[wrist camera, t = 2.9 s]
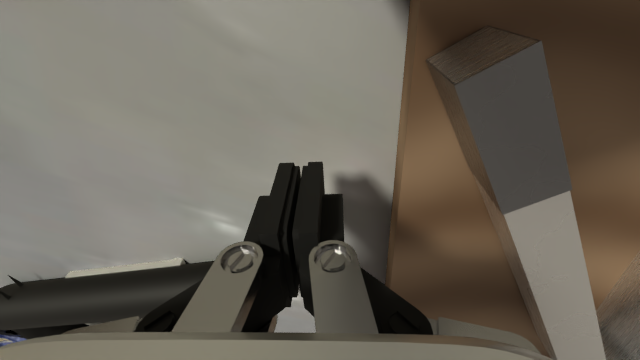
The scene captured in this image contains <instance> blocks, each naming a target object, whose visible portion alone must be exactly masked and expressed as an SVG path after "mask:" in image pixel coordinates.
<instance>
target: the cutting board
mask: <svg viewBox="0 0 640 360" xmlns="http://www.w3.org/2000/svg"><path fill="white" fill-rule="evenodd" d="M487 25H489V26H492V27H496V28H499V29H503V30H506V31H510V32H513V33H517V34H520V35H524V36H527V37H531V38H534V39H538V40H541V41H542V45H543V50H544V55H545V59H546V64H547V69H548V74H549V79H550V84H551V88H552V93H553V98H554V103H555V108H556V112H557V117H558V122H559V127H560V132H561V136H562V141H563V146H564V151H565V156H566V160H567V165H568V170H569V175H570V180H571V184H572V189H573V190H570V193H571V198H572V202H573V207H574V212H575V216H576V221H577V226H578V230H579V235H580V240H581V244H582V249H583V254H584V258H585V263H586V268H587V272H588V277H589V282H590V286H591V291H592V296H593V300H594V305H595V310H597V309H598V307H599V306H600V305H601V303H602V302H603V301H604V299H605V298H606V296H607V295H608V294H609V292H610V291H611V289H612V288H613V287H614V285H615V284H616V283H617V281H618V280H619V278H620V277H621V276H622V274H623V273H624V271H625V270H626V269H627V267H628V266H629V265H630V263H631V262H632V260H633V259H634V258H635V256H636V255H637V253H638V252H639V251H640V0H410V10H409V21H408V32H407V44H406V55H405V66H404V78H403V89H402V100H401V111H400V123H399V134H398V145H397V157H396V168H395V179H394V191H393V202H392V213H391V225H390V236H389V247H388V258H387V270H386V281H385V286H387V287H388V288H390V289H391V290H392V291H394V292H395V293H396V294H398V295H399V296H400V297H402V298H403V299H405V300H406V301H407V302H409V303H410V304H411V305H413V306H414V307H416V308H417V309H418V310H420V311H421V312H422V313H423V314H424V315H425V316H426V317H427V318H430V319H434V320H438V317H443V318H447V319H452V320H457V321H461V322H466V323H471V324H476V325H480V326H485V327H490V328H494V329H499V330H504V331H508V332H512V333H515V334H518V335H520V336H522V337H524V338H525V339H527V340H528V341H530V342H531V343H532V344H533V345H534V346H535V347H536V348H537V349H538V350H539V351H540V353H541V355H544V356H546V357H549V358H550V356H549V354H548V353H547V351H546V349H545V347H544V346H543V344H542V342H541V340H540V339H539V337H538V335H537V333H536V330H535V328H534V325H533V323H532V320H531V318H530V315H529V313H528V310H527V308H526V305H525V303H524V300H523V298H522V295H521V293H520V290H519V288H518V285H517V283H516V280H515V278H514V275H513V273H512V270H511V268H510V265H509V263H508V260H507V258H506V255H505V253H504V250H503V248H502V245H501V243H500V240H499V238H498V235H497V233H496V230H495V228H494V225H493V223H492V220H491V218H490V215H489V213H488V210H487V208H486V205H485V203H484V200H483V198H482V195H481V193H480V191H479V188H478V186H477V183H476V181H475V178H474V176H473V173H472V172H471V170H470V169H469V167H468V165H467V162H466V160H465V157H464V155H463V152H462V150H461V147H460V145H459V142H458V140H457V137H456V135H455V132H454V130H453V127H452V125H451V123H450V120H449V118H448V115H447V113H446V110H445V108H444V105H443V103H442V100H441V98H440V95H439V93H438V90H437V88H436V85H435V83H434V80H433V78H432V76H431V73H430V71H429V68H428V66H427V63H426V61H425V60H426V59H428V58H430V57H432V56H433V55H435V54H437V53H439V52H441V51H442V50H444V49H446V48H448V47H449V46H451V45H453V44H455V43H457V42H458V41H460V40H462V39H464V38H466V37H467V36H469V35H471V34H473V33H474V32H476V31H478V30H480V29H482V28H483V27H485V26H487Z"/></svg>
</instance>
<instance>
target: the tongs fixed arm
mask: <svg viewBox="0 0 640 360" xmlns="http://www.w3.org/2000/svg"><path fill="white" fill-rule="evenodd" d="M596 315H597V319H598V324H599V329H600V333H601V338H602V343H603V347H604V352H605V357H606V360H640V251H639V252H638V253H637V255H636V256H635V258H634V259H633V260H632V262H631V263H630V265H629V266H628V267H627V269H626V270H625V271H624V273H623V274H622V276H621V277H620V278H619V280H618V281H617V283H616V284H615V285H614V287H613V288H612V289H611V291H610V292H609V294H608V295H607V296H606V298H605V299H604V301H603V302H602V303H601V305H600V306H599V307H598V309H597V310H596Z"/></svg>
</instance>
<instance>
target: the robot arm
mask: <svg viewBox="0 0 640 360" xmlns="http://www.w3.org/2000/svg"><path fill="white" fill-rule="evenodd" d="M299 285H300V292H301V297H303V301H304V307H305V309H306V310H307V311H309V312H310V313H311V314H312V315H313V316H314V317H315V327H316V333H274V330H275V327H276V324H277V318H278V316H277V314H278V313H279V312H280V311H282V310H283V309H284V308H285V307H291V301H292V297H297V295H298V287H299ZM0 360H553V359H551V358H549V357H546V356H544V355H541V353H540V351H539V350H538V349H537V348H536V347H535V346H534V345H533V344H532V343H531V342H530V341H528V340H527V339H525V338H524V337H522V336H520V335H518V334H515V333H512V332H508V331H504V330H499V329H494V328H490V327H485V326H480V325H476V324H471V323H466V322H461V321H457V320H452V319H447V318H443V317H438V320H434V319H430V318H427V317H426V316H425V315H424V314H423V313H422V312H421V311H420V310H418V309H417V308H416V307H414V306H413V305H411V304H410V303H409V302H407V301H406V300H405V299H403V298H402V297H400V296H399V295H398V294H396V293H395V292H394V291H392V290H391V289H390V288H388V287H387V286H385V285H384V284H383V283H381V282H380V281H379V280H377V279H376V278H374V277H373V276H372V275H370V274H369V273H368V272H366V271H365V270H363V269H362V268H361V267H360V265H359V261H358V258H357V254H356V252H355V250H354V249H353V248H352V247H351V246H350V245H349V244H347V243H345V242H344V224H343V197H342V194H325V191H324V175H323V162H308V166H303V170H302V176H301V174H300V167H299V166H295V165H294V163H280V164H279V166H278V170H277V173H276V176H275V180H274V183H273V186H272V190H271V193H270V196H260V197H259V198H258V201H257V204H256V207H255V210H254V213H253V215H252V218H251V221H250V224H249V227H248V230H247V233H246V236H245V238H244V241H243V242H238V243H234V244H232V245H230V246H228V247H226V248H225V249H224V250H222V251H221V253H220V254H219V255H218V256H217V258H216V260H215V261H214V263H213V264H212V266H211V268H210V269H209V271H208V273H207V274H206V276H205V277H204V279H202V280H200V281H199V282H197V283H195V284H194V285H192V286H191V287H189V288H187V289H186V290H184V291H183V292H181V293H179V294H178V295H176V296H175V297H173V298H171V299H170V300H168V301H167V302H165V303H163V304H162V305H160V306H159V307H157V308H155V309H154V310H152V311H151V312H150V313H148V314H147V315H146V316H145V317H144V318H143V319H140V318H139V317H138V316H135V317H130V318H126V319H121V320H116V321H111V322H106V323H102V324H97V325H92V326H87V327H82V328H78V329H73V330H70V331H67V332H64V333H62V334H60V335H53V336H46V337H38V338H33V339H28V340H24V341H20V342H15V343H11V344H7V345H4V346H1V347H0Z"/></svg>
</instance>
